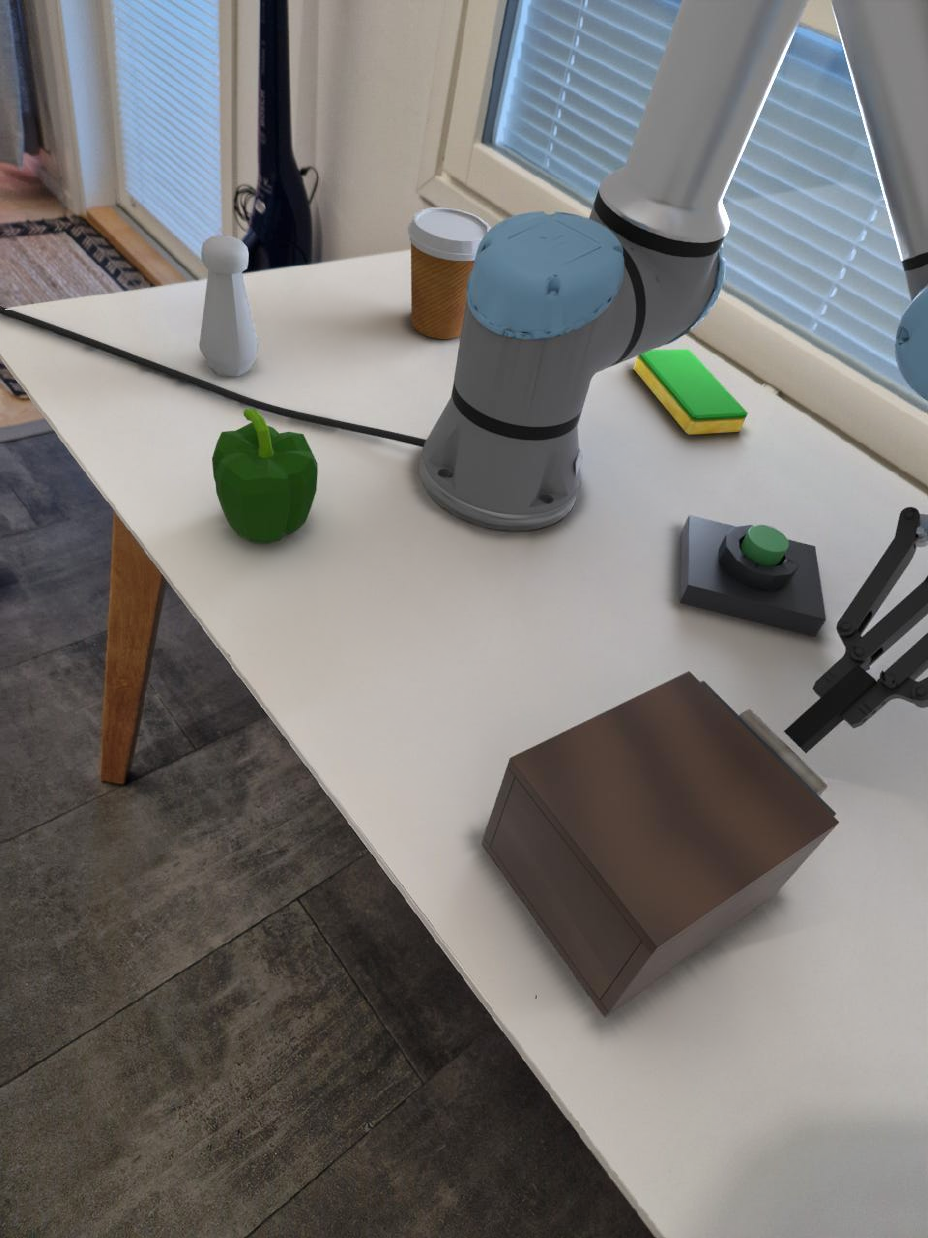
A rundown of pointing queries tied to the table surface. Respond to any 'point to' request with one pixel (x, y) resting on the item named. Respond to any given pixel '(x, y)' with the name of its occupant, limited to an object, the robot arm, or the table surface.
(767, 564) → the button
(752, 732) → the drawer
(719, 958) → the table surface
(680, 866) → the cabinet
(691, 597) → the control block
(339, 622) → the table surface
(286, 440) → the bell pepper
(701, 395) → the dish sponge
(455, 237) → the disposable coffee cup
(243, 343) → the salt shaker
